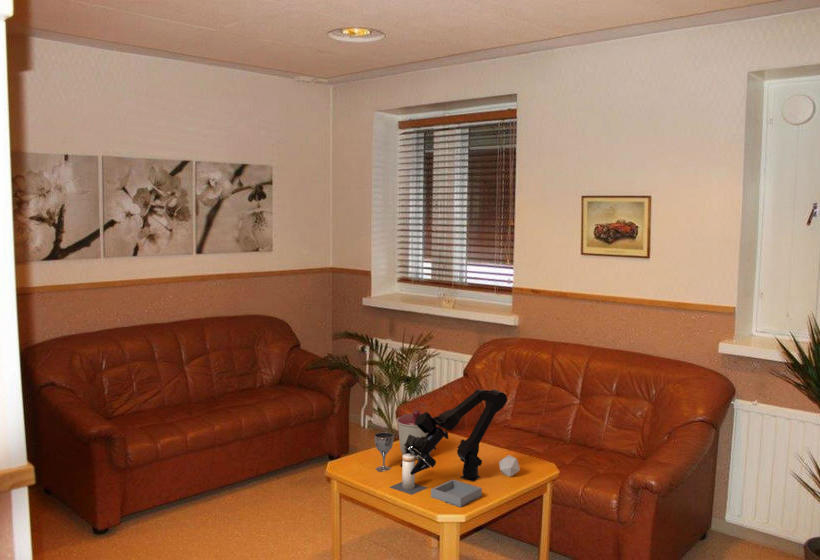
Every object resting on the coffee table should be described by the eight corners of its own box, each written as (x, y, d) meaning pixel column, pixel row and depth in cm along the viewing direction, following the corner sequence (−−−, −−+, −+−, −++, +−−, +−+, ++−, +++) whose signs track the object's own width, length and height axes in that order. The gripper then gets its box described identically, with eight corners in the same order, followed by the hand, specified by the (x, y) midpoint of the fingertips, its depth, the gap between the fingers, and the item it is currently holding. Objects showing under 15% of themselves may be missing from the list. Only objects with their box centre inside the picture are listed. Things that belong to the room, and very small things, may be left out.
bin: (452, 487, 293) (452, 479, 293) (481, 496, 284) (481, 487, 284) (430, 497, 282) (431, 489, 282) (460, 507, 274) (460, 498, 273)
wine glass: (389, 473, 309) (389, 438, 308) (371, 471, 311) (372, 436, 310) (395, 467, 316) (396, 433, 315) (378, 465, 319) (378, 431, 318)
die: (523, 478, 307) (521, 455, 312) (513, 472, 301) (512, 450, 306) (506, 481, 311) (504, 459, 316) (496, 476, 305) (495, 453, 310)
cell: (407, 484, 296) (408, 451, 295) (417, 487, 293) (417, 454, 291) (399, 487, 292) (399, 454, 291) (409, 490, 289) (409, 457, 288)
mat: (404, 481, 300) (404, 480, 300) (427, 488, 292) (427, 487, 292) (388, 487, 292) (388, 487, 292) (412, 495, 285) (412, 494, 285)
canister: (387, 454, 333) (388, 409, 331) (417, 446, 345) (417, 402, 343) (414, 465, 319) (415, 417, 318) (444, 456, 332) (444, 410, 330)
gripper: (408, 421, 300) (383, 451, 297) (429, 434, 284) (403, 465, 280) (425, 438, 304) (401, 467, 301) (446, 451, 288) (421, 482, 284)
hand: (405, 470), depth 291 cm, fingers open, 9 cm apart
